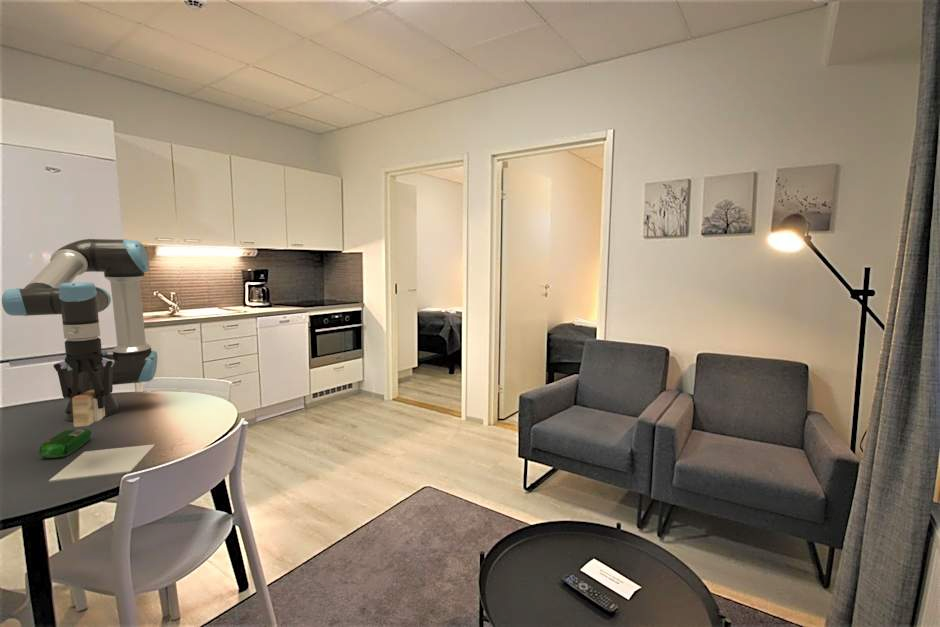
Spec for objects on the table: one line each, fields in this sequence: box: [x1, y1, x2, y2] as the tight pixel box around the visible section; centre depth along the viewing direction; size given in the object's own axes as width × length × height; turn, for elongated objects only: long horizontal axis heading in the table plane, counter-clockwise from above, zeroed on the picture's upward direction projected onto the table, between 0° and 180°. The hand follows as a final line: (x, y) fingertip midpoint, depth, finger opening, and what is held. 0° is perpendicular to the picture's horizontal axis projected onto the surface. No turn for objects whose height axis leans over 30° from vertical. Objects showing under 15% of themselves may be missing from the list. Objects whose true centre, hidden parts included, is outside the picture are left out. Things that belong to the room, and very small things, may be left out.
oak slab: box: [72, 390, 106, 428], centre depth 123 cm, size 10×3×8 cm, turn 18°
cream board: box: [48, 444, 156, 483], centre depth 126 cm, size 18×18×1 cm
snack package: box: [39, 428, 92, 459], centre depth 133 cm, size 7×16×5 cm, turn 12°
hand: (90, 420), depth 123 cm, fingers closed on oak slab, 3 cm apart
